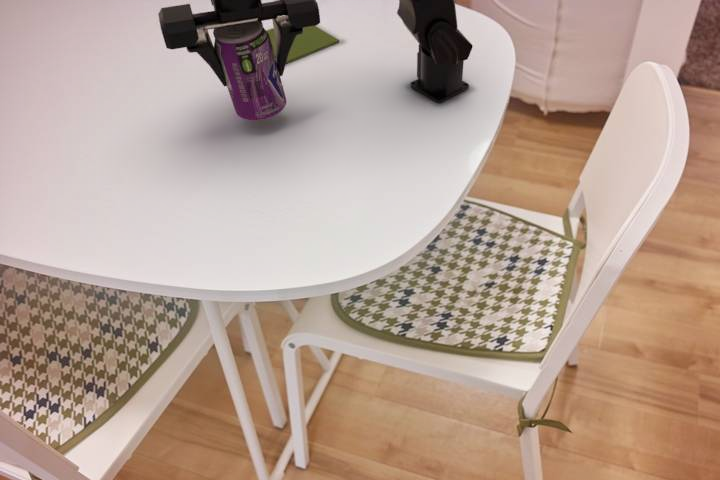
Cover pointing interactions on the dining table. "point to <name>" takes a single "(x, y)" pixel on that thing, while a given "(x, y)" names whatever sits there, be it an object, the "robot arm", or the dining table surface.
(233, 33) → the beverage can
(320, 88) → the dining table surface
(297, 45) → the mat
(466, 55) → the robot arm
